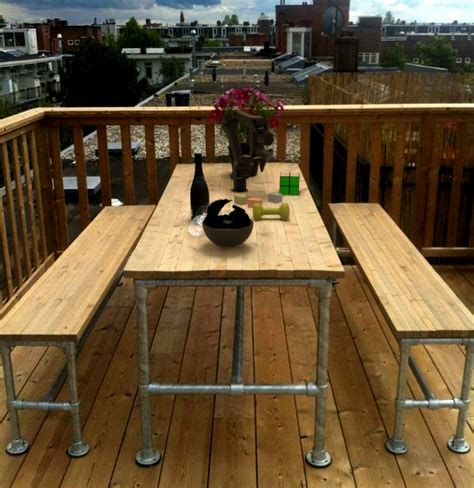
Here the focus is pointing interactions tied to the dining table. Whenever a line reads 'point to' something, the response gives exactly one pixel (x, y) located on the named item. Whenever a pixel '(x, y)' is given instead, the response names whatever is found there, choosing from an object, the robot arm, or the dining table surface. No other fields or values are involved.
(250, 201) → the terracotta brick
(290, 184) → the puzzle cube
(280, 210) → the dumbbell
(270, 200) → the slate-blue brick
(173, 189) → the dining table surface
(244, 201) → the olive brick
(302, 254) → the dining table surface
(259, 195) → the cream brick
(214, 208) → the black hollow round piece
